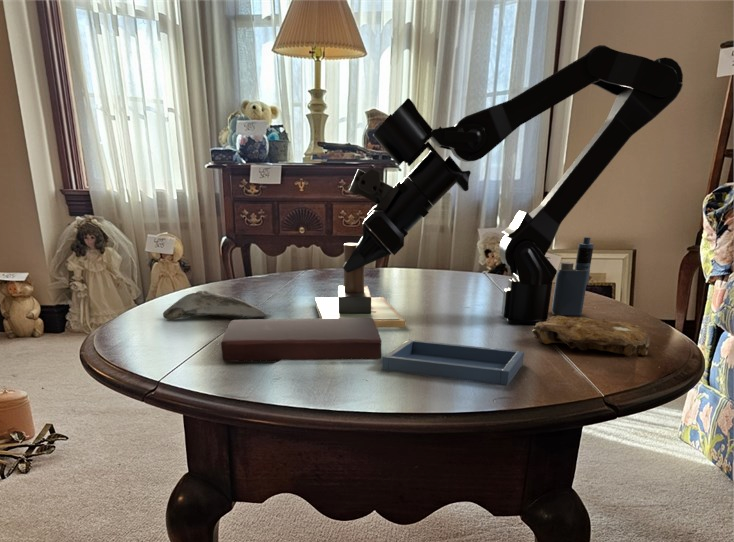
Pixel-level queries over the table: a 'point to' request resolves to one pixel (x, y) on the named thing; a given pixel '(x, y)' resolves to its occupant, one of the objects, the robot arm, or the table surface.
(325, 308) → the board
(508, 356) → the tray
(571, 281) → the vaping device
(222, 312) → the fossil
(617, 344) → the decorative rock
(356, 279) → the eraser
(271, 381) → the table surface
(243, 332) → the book
